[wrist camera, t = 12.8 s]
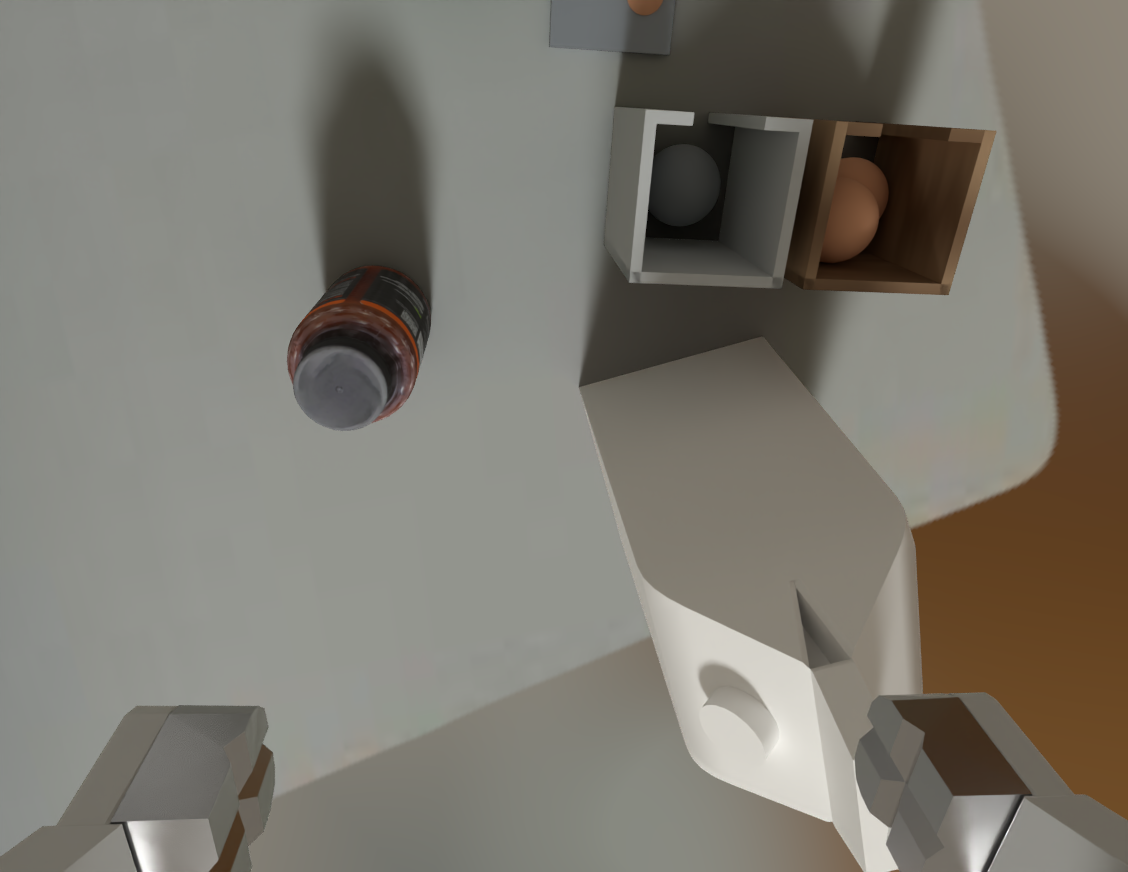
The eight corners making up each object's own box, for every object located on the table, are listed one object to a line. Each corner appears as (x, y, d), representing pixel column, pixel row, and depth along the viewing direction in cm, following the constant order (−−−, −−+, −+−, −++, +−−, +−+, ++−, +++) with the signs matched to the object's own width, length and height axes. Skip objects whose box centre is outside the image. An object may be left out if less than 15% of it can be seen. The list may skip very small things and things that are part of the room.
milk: (786, 500, 48) (1055, 885, 24) (622, 543, 48) (731, 961, 25) (762, 336, 43) (1076, 626, 19) (578, 387, 43) (665, 730, 20)
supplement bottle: (310, 335, 40) (244, 414, 30) (351, 242, 38) (296, 295, 28) (406, 381, 42) (374, 472, 32) (451, 295, 40) (432, 363, 30)
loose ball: (868, 161, 35) (788, 166, 34) (905, 196, 32) (818, 201, 32) (847, 237, 37) (773, 241, 37) (879, 275, 35) (800, 280, 34)
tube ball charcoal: (640, 139, 37) (654, 144, 34) (714, 143, 38) (736, 148, 34) (632, 218, 39) (645, 230, 35) (703, 221, 39) (723, 233, 36)
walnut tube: (764, 116, 37) (836, 121, 29) (891, 123, 38) (996, 131, 30) (742, 250, 40) (802, 289, 32) (860, 255, 41) (948, 294, 33)
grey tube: (614, 106, 36) (645, 109, 28) (746, 114, 37) (813, 119, 29) (603, 244, 39) (629, 282, 31) (725, 249, 40) (781, 288, 32)
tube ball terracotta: (801, 152, 37) (865, 166, 34) (850, 150, 39) (915, 163, 36) (784, 229, 39) (844, 248, 36) (831, 224, 41) (891, 241, 38)
